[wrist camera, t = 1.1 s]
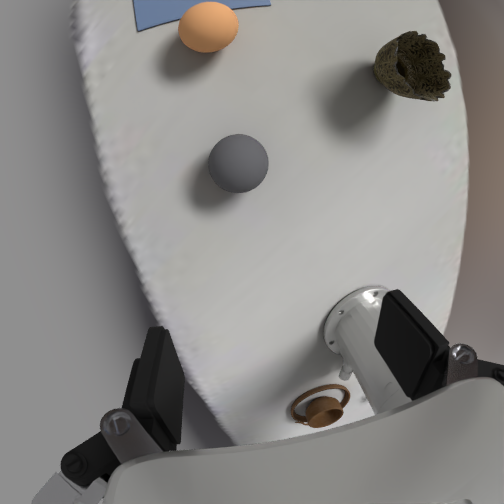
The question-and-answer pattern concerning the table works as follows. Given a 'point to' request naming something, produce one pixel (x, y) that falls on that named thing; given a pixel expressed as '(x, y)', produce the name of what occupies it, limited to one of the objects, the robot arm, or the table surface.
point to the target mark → (178, 9)
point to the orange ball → (208, 27)
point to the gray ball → (238, 163)
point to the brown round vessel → (412, 67)
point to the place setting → (321, 407)
